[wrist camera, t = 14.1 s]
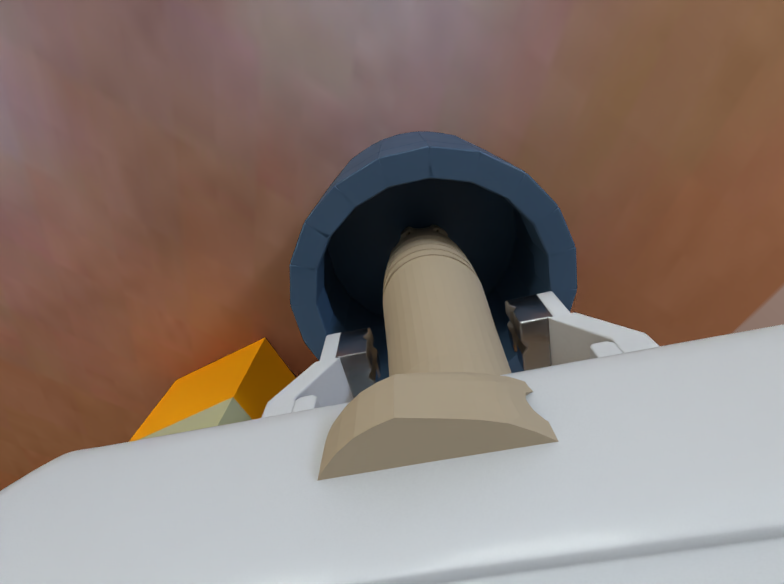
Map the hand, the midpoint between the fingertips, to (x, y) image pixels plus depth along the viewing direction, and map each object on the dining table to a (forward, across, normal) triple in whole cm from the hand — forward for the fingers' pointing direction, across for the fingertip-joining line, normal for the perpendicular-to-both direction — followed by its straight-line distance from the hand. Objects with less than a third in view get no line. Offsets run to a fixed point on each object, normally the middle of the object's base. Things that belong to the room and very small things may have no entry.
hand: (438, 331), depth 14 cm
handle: (+8, 0, 0) cm, 8 cm away
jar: (+11, 0, 0) cm, 11 cm away
